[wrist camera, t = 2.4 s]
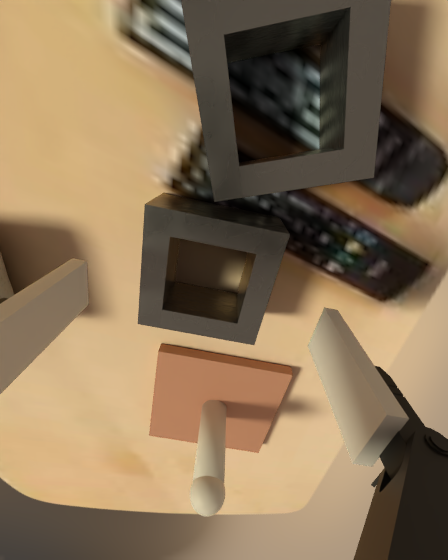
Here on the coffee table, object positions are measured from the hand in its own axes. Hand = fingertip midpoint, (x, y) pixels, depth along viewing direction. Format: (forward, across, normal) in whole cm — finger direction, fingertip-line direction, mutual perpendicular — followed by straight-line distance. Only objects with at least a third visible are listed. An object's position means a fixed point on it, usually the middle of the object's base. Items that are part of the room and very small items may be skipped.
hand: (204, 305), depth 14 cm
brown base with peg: (+6, +3, -14) cm, 16 cm away
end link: (+6, 0, 0) cm, 6 cm away
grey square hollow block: (+6, +2, +10) cm, 12 cm away
